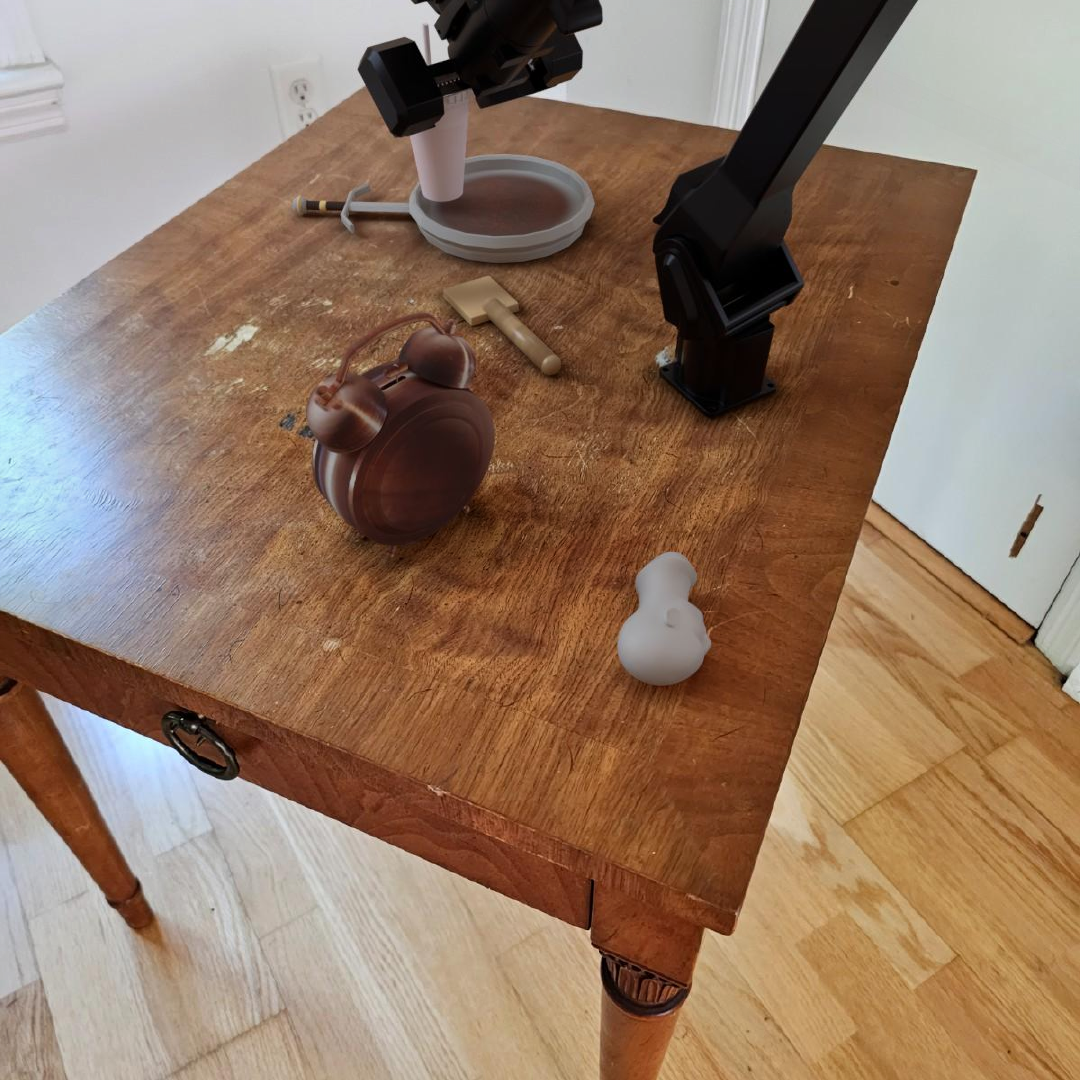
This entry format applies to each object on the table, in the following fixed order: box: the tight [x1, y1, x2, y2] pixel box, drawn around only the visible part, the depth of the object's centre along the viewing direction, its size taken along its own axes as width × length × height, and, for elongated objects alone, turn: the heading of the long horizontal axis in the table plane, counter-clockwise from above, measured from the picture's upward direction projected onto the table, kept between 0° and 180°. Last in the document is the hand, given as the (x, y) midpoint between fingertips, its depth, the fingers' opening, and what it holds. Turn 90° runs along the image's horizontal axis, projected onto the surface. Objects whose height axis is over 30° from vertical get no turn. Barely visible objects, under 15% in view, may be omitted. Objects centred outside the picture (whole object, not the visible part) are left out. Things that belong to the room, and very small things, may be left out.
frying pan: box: [292, 153, 596, 264], centre depth 88 cm, size 17×3×28 cm
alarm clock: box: [305, 312, 496, 559], centre depth 56 cm, size 11×5×15 cm, turn 133°
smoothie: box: [409, 22, 474, 202], centre depth 82 cm, size 6×6×14 cm
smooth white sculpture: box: [616, 551, 712, 687], centre depth 53 cm, size 4×8×5 cm
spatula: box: [442, 275, 562, 376], centre depth 76 cm, size 14×4×2 cm, turn 31°
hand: (437, 117), depth 82 cm, fingers open, 9 cm apart
